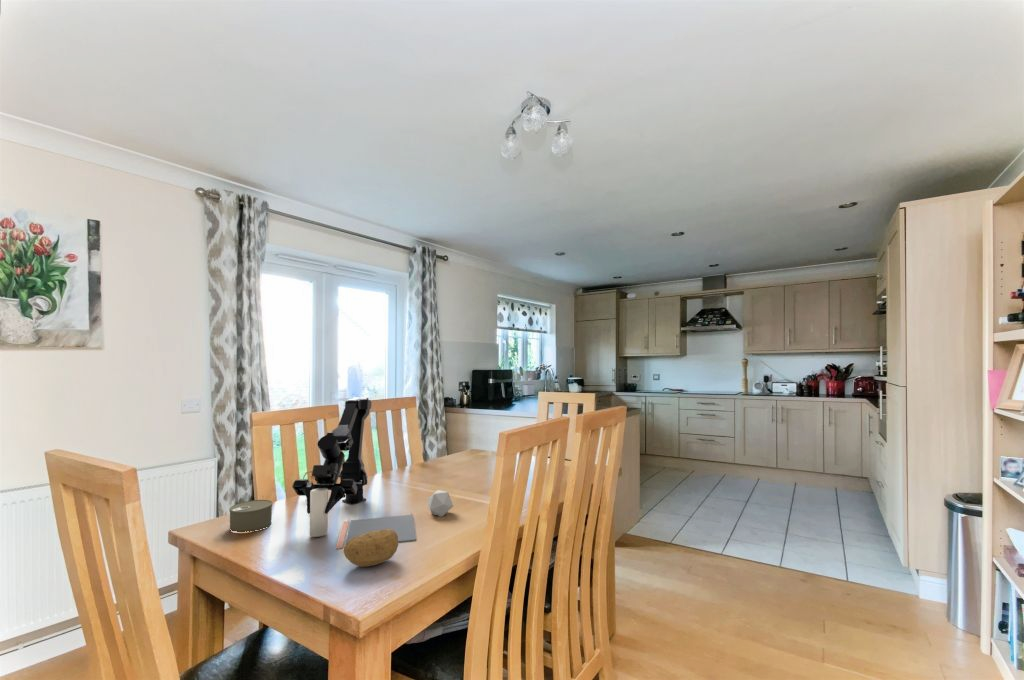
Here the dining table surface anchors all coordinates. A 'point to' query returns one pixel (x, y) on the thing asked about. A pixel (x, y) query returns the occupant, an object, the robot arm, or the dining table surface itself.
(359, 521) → the mat
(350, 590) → the dining table surface
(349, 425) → the robot arm
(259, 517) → the can
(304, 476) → the figurine
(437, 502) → the die
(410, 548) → the dining table surface
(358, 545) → the potato
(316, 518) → the cream teardrop shape
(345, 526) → the strip
